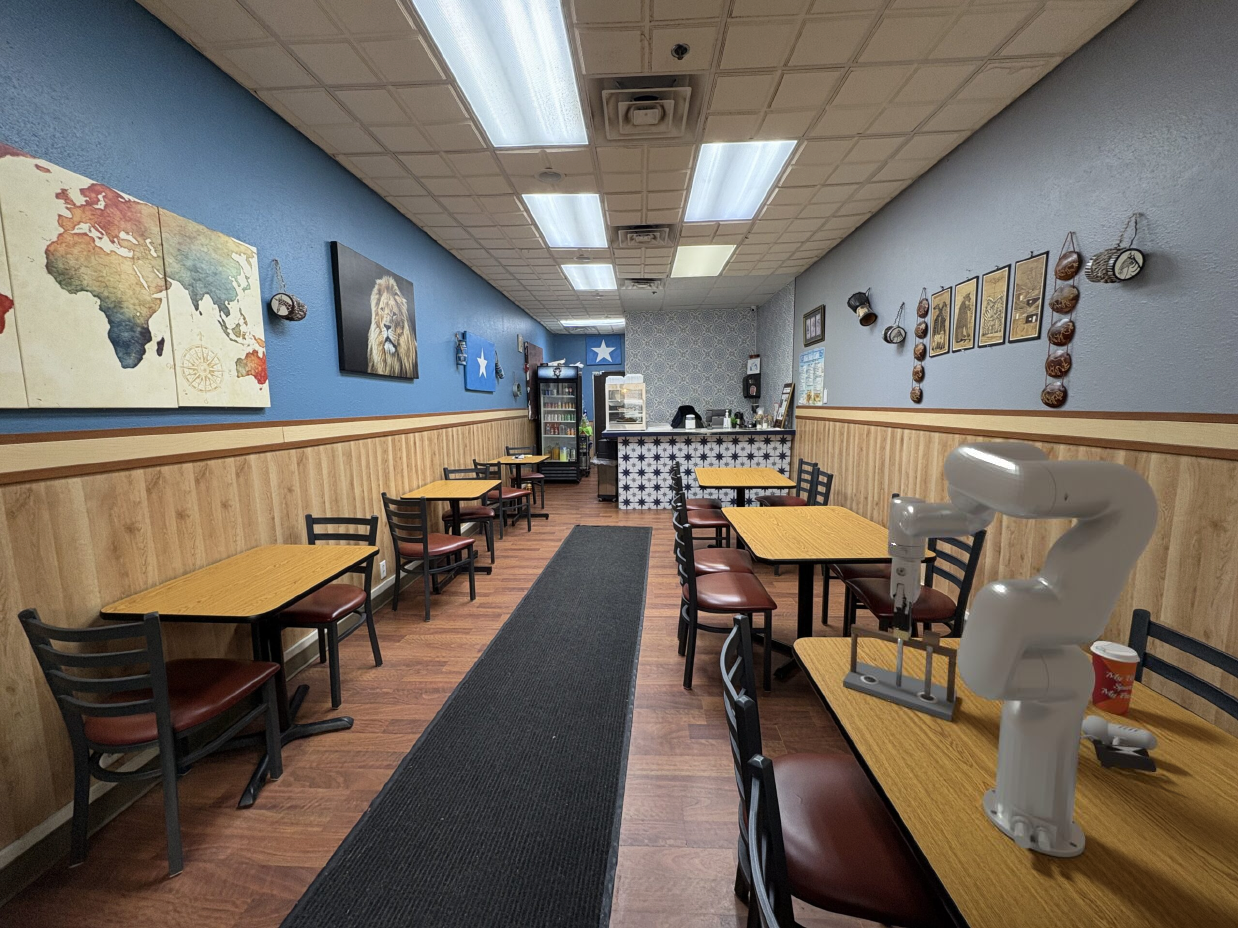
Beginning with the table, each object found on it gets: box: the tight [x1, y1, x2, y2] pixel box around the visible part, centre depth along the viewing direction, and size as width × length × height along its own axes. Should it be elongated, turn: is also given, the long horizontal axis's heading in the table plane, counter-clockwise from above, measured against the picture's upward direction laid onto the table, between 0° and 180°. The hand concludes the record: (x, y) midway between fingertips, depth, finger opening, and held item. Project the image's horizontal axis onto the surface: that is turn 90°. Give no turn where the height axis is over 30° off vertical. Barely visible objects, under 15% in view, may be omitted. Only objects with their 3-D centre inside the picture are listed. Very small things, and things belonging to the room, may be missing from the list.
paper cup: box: [1090, 640, 1141, 716], centre depth 107 cm, size 8×8×14 cm
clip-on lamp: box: [1080, 715, 1158, 773], centre depth 96 cm, size 12×6×18 cm
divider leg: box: [892, 603, 913, 687], centre depth 114 cm, size 4×3×20 cm
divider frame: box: [849, 623, 958, 703], centre depth 115 cm, size 4×22×14 cm, turn 50°
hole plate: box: [842, 660, 958, 722], centre depth 116 cm, size 12×22×2 cm, turn 50°
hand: (902, 624), depth 114 cm, fingers closed on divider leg, 3 cm apart
